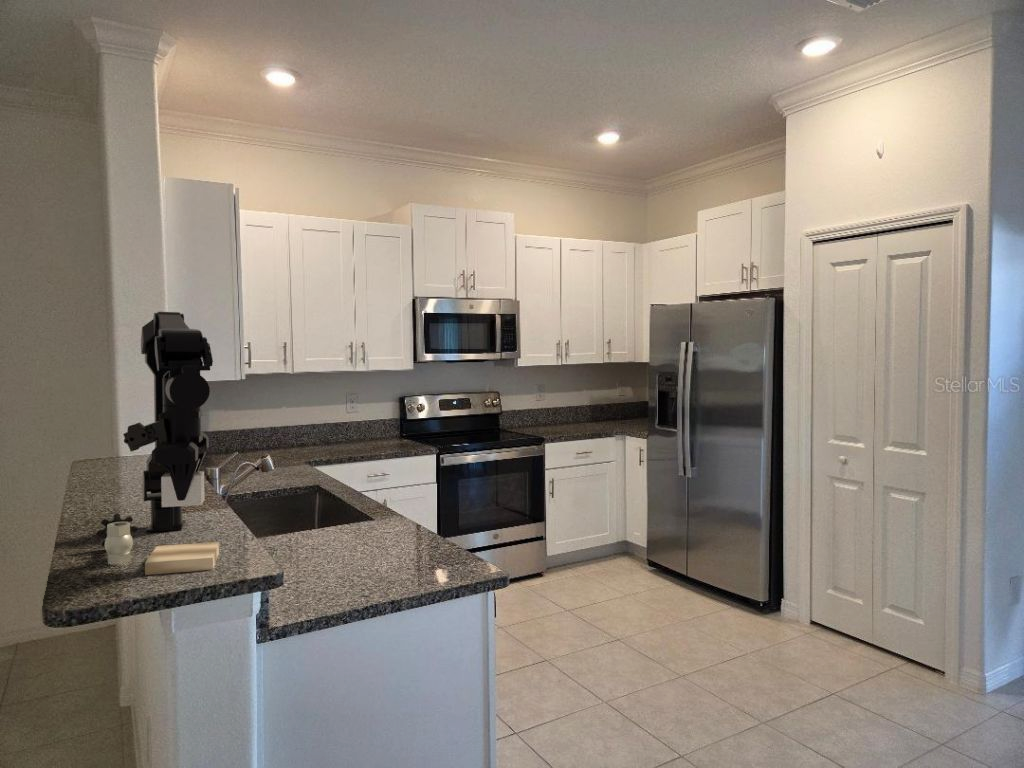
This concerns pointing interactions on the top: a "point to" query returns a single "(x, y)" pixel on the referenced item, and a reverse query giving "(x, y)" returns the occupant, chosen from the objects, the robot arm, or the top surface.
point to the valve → (117, 538)
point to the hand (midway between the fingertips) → (183, 497)
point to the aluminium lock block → (193, 495)
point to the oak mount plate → (182, 558)
